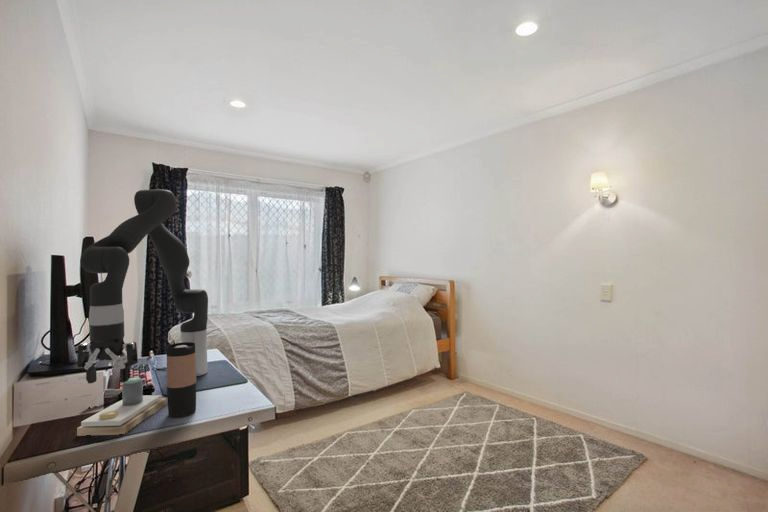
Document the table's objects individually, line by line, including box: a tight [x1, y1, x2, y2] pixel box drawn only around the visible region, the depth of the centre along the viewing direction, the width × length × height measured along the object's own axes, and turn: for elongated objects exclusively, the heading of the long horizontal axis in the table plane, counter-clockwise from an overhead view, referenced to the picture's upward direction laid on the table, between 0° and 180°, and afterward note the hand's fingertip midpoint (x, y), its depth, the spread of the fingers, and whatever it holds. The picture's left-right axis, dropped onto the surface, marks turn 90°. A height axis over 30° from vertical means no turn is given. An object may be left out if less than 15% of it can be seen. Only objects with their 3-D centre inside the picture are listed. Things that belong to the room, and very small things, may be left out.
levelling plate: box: [80, 377, 163, 427], centre depth 107 cm, size 19×10×8 cm, turn 1°
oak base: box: [76, 397, 168, 437], centre depth 108 cm, size 20×12×2 cm, turn 1°
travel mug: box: [166, 342, 197, 419], centre depth 111 cm, size 8×8×20 cm
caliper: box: [104, 388, 122, 399], centre depth 125 cm, size 20×1×6 cm, turn 154°
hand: (108, 382), depth 101 cm, fingers open, 8 cm apart
